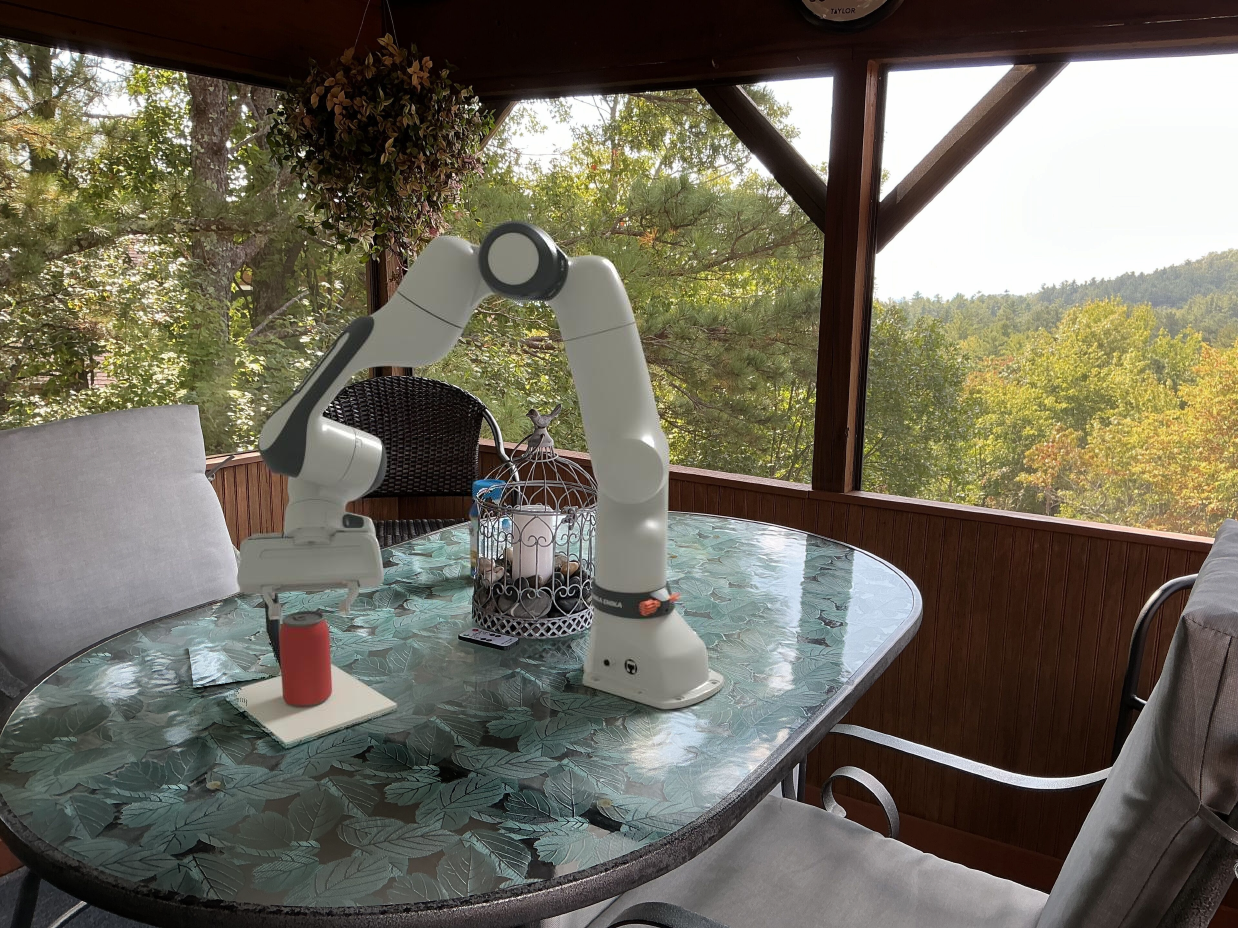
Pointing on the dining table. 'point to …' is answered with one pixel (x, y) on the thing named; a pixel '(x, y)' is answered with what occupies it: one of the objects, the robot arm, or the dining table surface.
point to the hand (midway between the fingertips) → (309, 615)
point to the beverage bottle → (473, 516)
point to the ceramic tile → (312, 707)
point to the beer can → (305, 659)
